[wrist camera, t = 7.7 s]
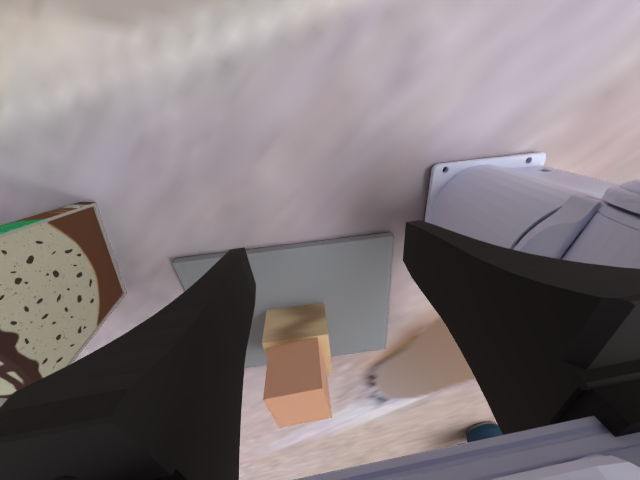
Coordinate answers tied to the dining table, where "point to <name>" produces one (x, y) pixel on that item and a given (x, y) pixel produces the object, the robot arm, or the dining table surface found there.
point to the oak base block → (297, 328)
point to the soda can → (483, 431)
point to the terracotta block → (297, 383)
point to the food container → (53, 291)
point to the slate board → (317, 288)
